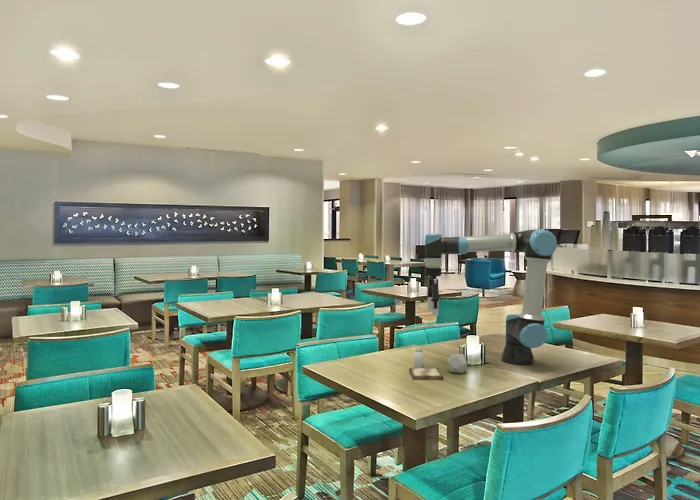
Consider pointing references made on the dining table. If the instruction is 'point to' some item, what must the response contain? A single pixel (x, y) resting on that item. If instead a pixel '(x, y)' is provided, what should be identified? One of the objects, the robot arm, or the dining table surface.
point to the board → (426, 374)
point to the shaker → (419, 358)
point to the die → (457, 363)
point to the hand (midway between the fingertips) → (432, 313)
